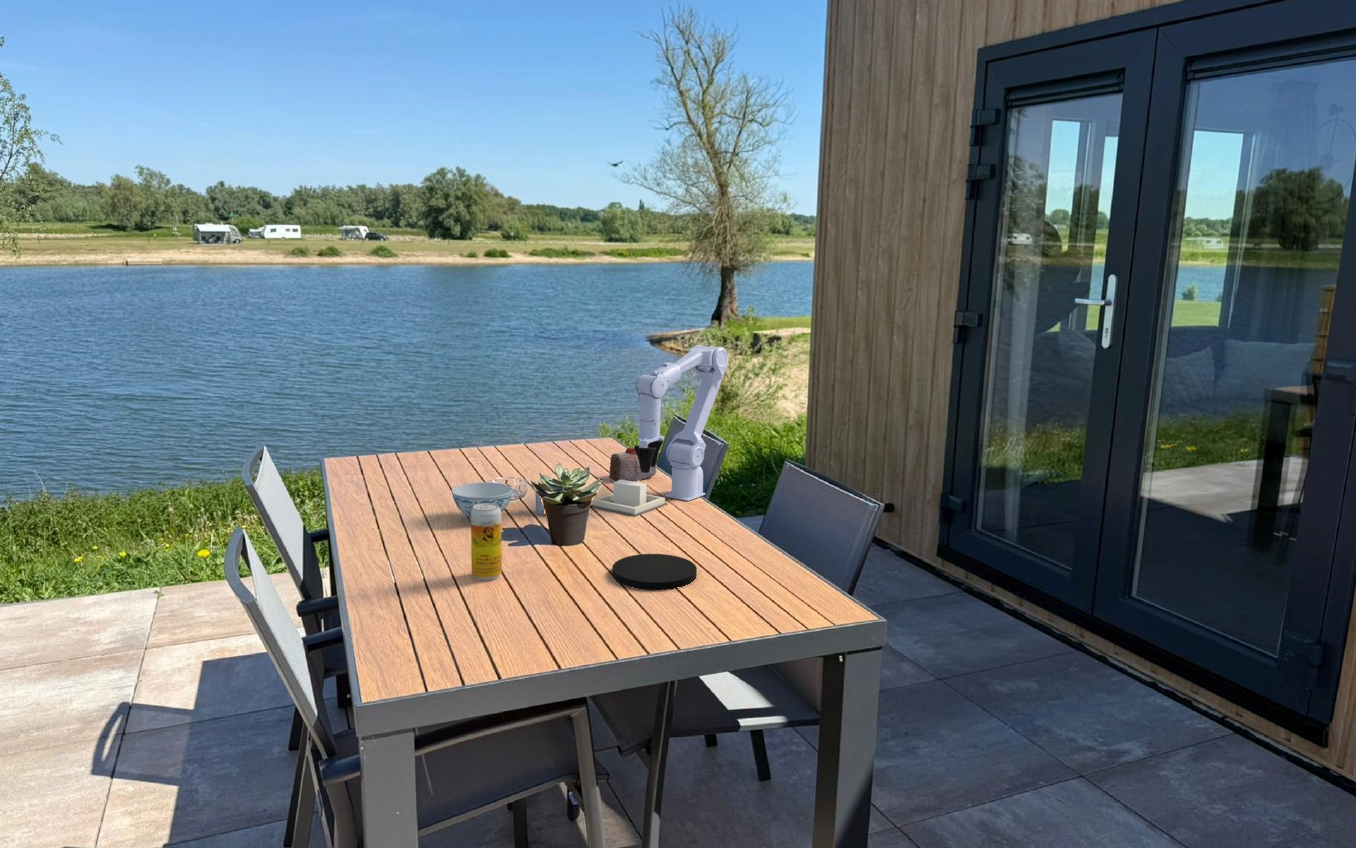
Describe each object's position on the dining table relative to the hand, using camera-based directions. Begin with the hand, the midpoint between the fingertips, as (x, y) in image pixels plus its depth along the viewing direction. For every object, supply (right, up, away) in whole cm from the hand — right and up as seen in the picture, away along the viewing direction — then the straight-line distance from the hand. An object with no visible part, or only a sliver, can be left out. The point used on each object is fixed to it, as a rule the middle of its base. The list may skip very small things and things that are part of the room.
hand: (648, 469), depth 232 cm
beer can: (-32, -20, -54) cm, 66 cm away
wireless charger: (+3, -20, -51) cm, 55 cm away
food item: (-6, -5, +33) cm, 34 cm away
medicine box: (-25, -11, -7) cm, 28 cm away
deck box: (-5, -10, +2) cm, 11 cm away
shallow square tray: (-5, -10, +2) cm, 12 cm away
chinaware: (-42, -12, -14) cm, 46 cm away
